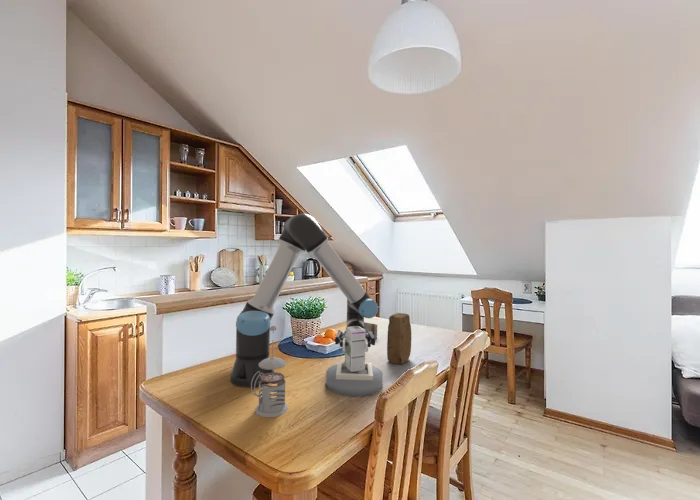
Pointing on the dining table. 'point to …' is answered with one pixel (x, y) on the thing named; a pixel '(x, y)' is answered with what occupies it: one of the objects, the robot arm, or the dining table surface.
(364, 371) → the tower base
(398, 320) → the block
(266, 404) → the french press
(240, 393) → the dining table surface
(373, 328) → the ruin model on sheet
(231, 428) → the dining table surface
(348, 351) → the syrup box
